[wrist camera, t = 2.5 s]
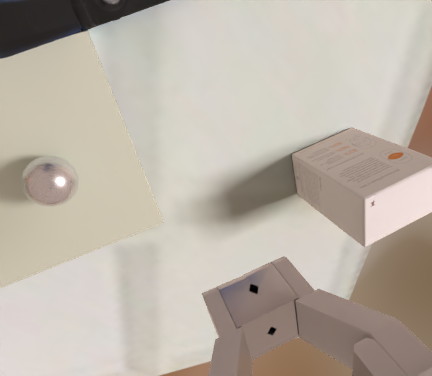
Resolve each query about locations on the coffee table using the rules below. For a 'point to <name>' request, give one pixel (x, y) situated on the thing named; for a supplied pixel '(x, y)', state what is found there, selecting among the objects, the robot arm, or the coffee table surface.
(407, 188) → the small box
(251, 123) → the coffee table surface
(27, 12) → the handheld game console
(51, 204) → the steel ball
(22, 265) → the beige flat block
